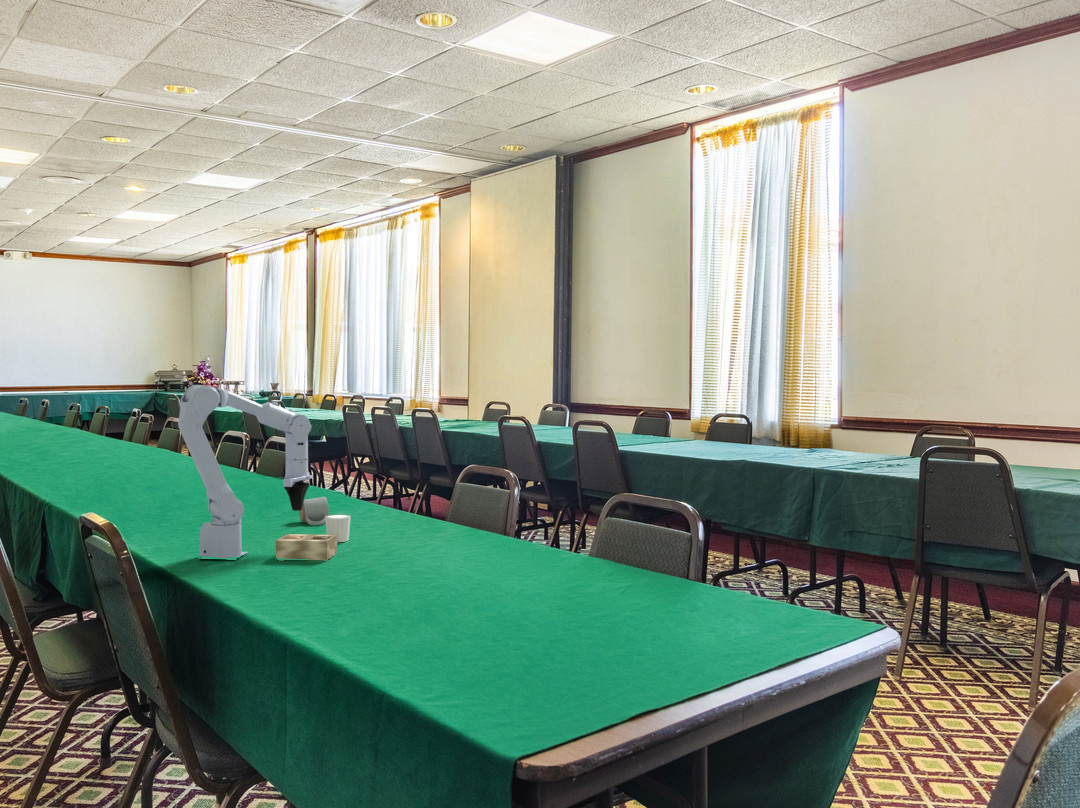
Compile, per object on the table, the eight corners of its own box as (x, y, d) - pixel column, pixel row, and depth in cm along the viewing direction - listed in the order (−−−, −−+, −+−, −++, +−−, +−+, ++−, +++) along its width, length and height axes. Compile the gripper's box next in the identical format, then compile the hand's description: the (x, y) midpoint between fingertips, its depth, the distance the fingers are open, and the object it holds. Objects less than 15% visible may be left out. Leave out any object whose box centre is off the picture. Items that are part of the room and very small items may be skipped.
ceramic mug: (298, 521, 265) (297, 496, 264) (324, 519, 268) (324, 495, 268) (304, 527, 255) (304, 502, 255) (332, 525, 259) (332, 500, 258)
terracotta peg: (283, 556, 214) (283, 538, 213) (288, 553, 217) (288, 535, 217) (297, 557, 213) (297, 538, 213) (302, 554, 217) (302, 535, 217)
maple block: (275, 560, 212) (275, 540, 211) (287, 553, 219) (287, 534, 219) (327, 561, 211) (327, 541, 211) (336, 554, 219) (336, 535, 218)
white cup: (354, 539, 238) (354, 514, 238) (346, 544, 231) (346, 518, 231) (330, 538, 239) (330, 513, 238) (321, 543, 232) (321, 518, 232)
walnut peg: (311, 557, 213) (310, 538, 213) (315, 554, 217) (315, 535, 217) (325, 557, 213) (325, 538, 213) (329, 554, 217) (329, 535, 216)
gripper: (302, 462, 217) (302, 515, 217) (320, 456, 231) (320, 505, 232) (275, 462, 217) (275, 514, 218) (295, 456, 232) (295, 505, 232)
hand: (297, 510), depth 225 cm, fingers closed
